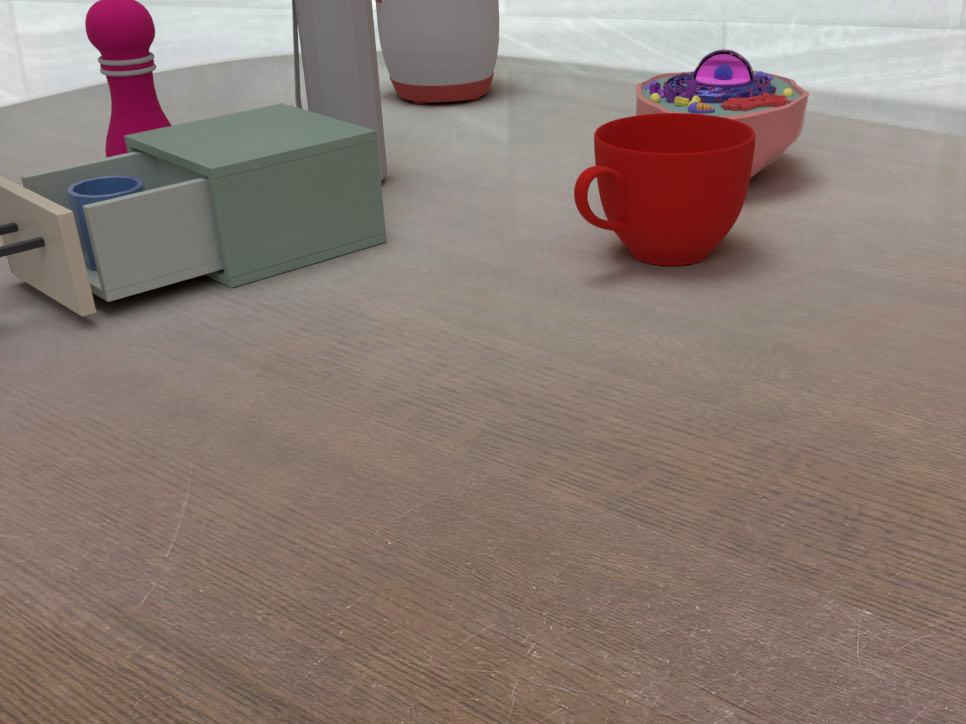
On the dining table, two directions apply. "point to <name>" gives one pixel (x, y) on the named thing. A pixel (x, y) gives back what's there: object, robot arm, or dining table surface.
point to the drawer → (109, 231)
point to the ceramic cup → (669, 183)
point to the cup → (93, 193)
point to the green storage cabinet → (279, 186)
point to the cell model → (732, 100)
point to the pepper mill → (126, 68)
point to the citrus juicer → (439, 47)
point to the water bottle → (339, 63)
